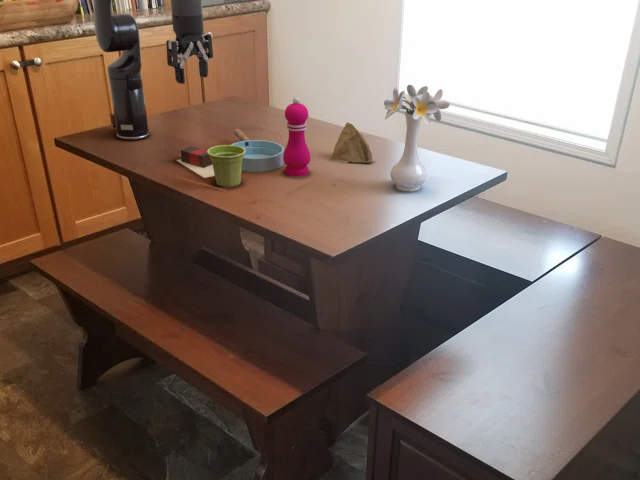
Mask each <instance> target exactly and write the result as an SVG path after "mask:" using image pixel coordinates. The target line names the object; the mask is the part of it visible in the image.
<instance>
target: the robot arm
mask: <svg viewBox="0 0 640 480" xmlns="http://www.w3.org/2000/svg"><path fill="white" fill-rule="evenodd" d="M92 1H93V21H94V22H93V24H94V34H95V38H96V42H97V45H98V47H99V48H100V50H101V51H102V52H103V53H116V52H117V53H118V52H121V53H120V55H119V57H118V58H117V59H116V60H114V61H112V62H111V63H110V64H108V65H107V68H106V69H107V71H106V72H107V78H108V83H109V89H110V96H111V103H112V109H113V113H109V117H110V123H111V125H112V128H113V129H115V130H116V137H117V138H118V139H119V140H123V141H138V140H145V139H146V138H149V137H150V130H149V123H148V114H147V107H146V106H147V105H146V99H145V90H144V83H143V75H142V52H141V51H142V50H141V39H140V38H141V37H140V31H139V30H140V29H139V27H138V23H137V21H136V19H135V17H134V16H133V15H132V14H130V13H118V14H113V13H112V6H113V0H92ZM170 10H171V11H170V12H171V21H172V31H173V33H174V34H175V39H174V40H171V39H166V41H165V43H166V44H165V47H166V64H167V66H168V67H173V68H174V76H175V81H176V83H177V84H181V85H183V84H185V83H186V77H185V68H184V66H185V63H186V62H187V61H188V59H189V57H192V56H196V57H197V59H198V70H199V73H198V74H199V77H201V78H207V77H209V76H208V75H209V65H208V62H209V60H210V59H213V58H214V51H213V49H214V48H213V39H212V34H211V33H206V32H205V29H204V13H203V1H202V0H170Z"/></svg>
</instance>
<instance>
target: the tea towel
mask: <svg viewBox="0 0 640 480" xmlns="http://www.w3.org/2000/svg"><path fill="white" fill-rule="evenodd" d="M176 162H178V163H179V164H181V165H183V167H186V168H187V169H189V170H190V171H192V172H193V173H195V174H197V175H198V176H200V177H201V178H203V179H207V178H213V177H215V174H214V169H213V165H210V166H207V167H205V168H202V167H198V166H195V165H191V164H188V163H185V162H182V159H181V158H180V159H179V158H178V159H176Z"/></svg>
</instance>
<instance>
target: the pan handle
mask: <svg viewBox="0 0 640 480" xmlns="http://www.w3.org/2000/svg"><path fill="white" fill-rule="evenodd" d="M233 131H234V132H233V133H234V135H235V136H236V137H237V138H238V140H239V141H240V142H241V141H248V140H251V139H250V138H249V137H248V136H247V135H245V133H244V132H243V131H242V130H241V129H240V128H235V130H233ZM245 146H249V143H248V142H245Z"/></svg>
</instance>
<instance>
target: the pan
mask: <svg viewBox="0 0 640 480" xmlns="http://www.w3.org/2000/svg"><path fill="white" fill-rule="evenodd" d="M245 142H248V143H249V146H245ZM230 145H235V146H240V147H243V148H244V149H245V153H244V157H243V159H242V172H246V173H264V172H271V171H275V170H277V169H280V168H282V167H283V166H284V164H285V163H284V161H283V154H284V150H285V147H284V146H283V145H282V144H280V143H278V142H276V141H270V140H262V139H250V140H248V141H241V140H240V141H237V142H233V143H231V144H230Z"/></svg>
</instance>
